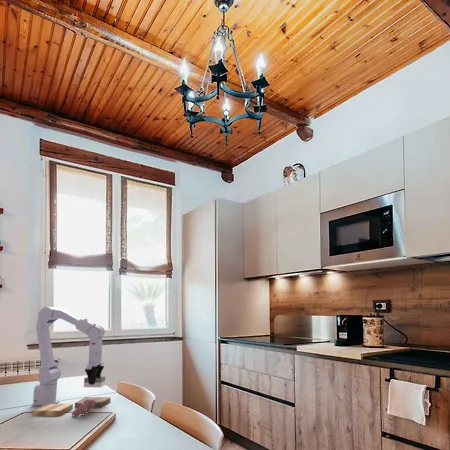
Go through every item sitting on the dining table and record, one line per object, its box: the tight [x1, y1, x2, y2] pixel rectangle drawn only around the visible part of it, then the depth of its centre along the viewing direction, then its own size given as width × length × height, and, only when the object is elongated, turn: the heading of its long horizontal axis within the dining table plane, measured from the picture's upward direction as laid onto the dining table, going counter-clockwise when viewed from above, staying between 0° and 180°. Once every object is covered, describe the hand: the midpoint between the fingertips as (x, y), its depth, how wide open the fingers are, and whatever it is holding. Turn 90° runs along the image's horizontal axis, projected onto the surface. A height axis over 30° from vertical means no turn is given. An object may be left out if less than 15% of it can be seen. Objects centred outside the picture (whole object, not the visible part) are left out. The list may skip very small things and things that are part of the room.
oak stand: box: [31, 403, 74, 417], centre depth 177 cm, size 12×12×2 cm
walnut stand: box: [74, 396, 111, 409], centre depth 190 cm, size 12×12×2 cm
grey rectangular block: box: [83, 375, 106, 388], centre depth 191 cm, size 5×8×4 cm, turn 86°
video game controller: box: [71, 399, 95, 417], centre depth 173 cm, size 10×5×7 cm, turn 169°
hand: (93, 383), depth 191 cm, fingers closed on grey rectangular block, 5 cm apart
